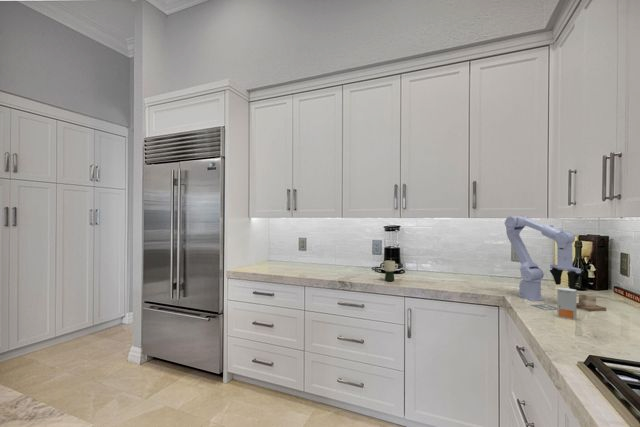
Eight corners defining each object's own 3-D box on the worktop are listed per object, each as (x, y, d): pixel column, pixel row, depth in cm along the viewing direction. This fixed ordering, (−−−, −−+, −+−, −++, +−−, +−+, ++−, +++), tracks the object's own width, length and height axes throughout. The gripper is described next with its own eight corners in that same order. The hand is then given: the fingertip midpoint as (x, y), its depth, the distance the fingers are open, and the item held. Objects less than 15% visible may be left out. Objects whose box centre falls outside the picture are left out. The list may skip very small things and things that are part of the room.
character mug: (396, 279, 225) (396, 260, 225) (399, 281, 218) (399, 261, 218) (380, 279, 224) (380, 260, 225) (382, 282, 217) (382, 261, 218)
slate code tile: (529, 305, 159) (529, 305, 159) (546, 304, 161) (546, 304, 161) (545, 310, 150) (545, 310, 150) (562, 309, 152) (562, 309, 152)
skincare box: (557, 317, 141) (556, 288, 141) (559, 315, 144) (559, 287, 144) (575, 320, 136) (574, 291, 136) (576, 318, 139) (576, 289, 139)
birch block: (578, 304, 155) (578, 293, 155) (587, 304, 156) (587, 293, 156) (587, 306, 151) (586, 295, 151) (596, 306, 152) (596, 295, 152)
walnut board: (570, 306, 157) (570, 303, 157) (586, 305, 159) (586, 302, 159) (589, 311, 148) (589, 308, 148) (606, 310, 150) (606, 307, 150)
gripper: (544, 255, 165) (544, 283, 165) (571, 259, 151) (571, 289, 151) (557, 255, 166) (557, 282, 166) (584, 259, 152) (585, 289, 152)
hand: (565, 286), depth 159 cm, fingers open, 7 cm apart
